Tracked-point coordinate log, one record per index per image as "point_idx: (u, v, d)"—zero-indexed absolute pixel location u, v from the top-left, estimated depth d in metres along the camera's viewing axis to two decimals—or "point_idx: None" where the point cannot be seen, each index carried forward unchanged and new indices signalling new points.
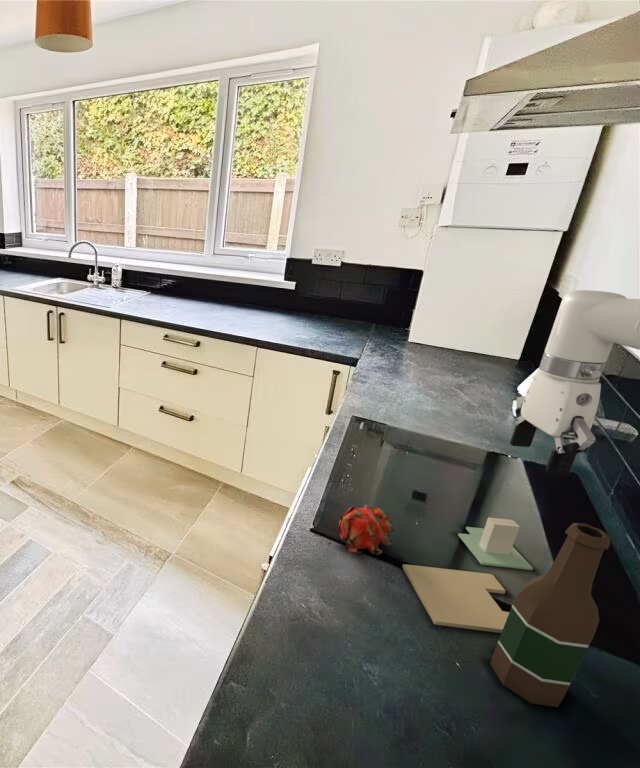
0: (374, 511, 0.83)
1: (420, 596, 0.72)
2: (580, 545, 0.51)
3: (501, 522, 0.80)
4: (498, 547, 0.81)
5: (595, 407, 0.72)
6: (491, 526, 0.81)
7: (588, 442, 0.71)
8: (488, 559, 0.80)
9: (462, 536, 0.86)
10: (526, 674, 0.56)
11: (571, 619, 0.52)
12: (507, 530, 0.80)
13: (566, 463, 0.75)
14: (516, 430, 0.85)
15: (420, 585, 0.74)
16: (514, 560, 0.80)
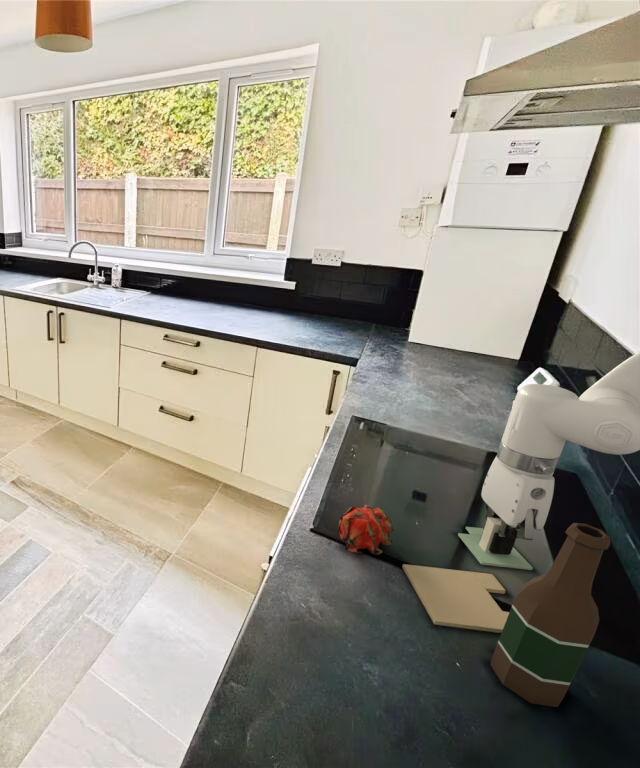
0: (374, 511, 0.83)
1: (420, 596, 0.72)
2: (580, 545, 0.51)
3: (501, 521, 0.80)
4: None
5: (549, 501, 0.73)
6: (491, 526, 0.81)
7: None
8: (488, 559, 0.80)
9: (462, 536, 0.86)
10: (526, 674, 0.56)
11: (571, 619, 0.52)
12: None
13: (507, 545, 0.79)
14: None
15: (420, 585, 0.74)
16: (514, 560, 0.80)
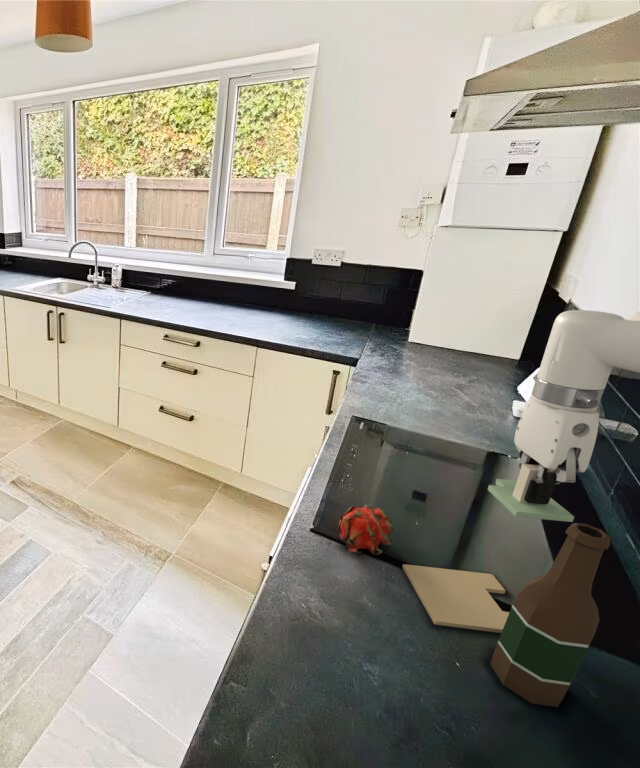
0: (374, 511, 0.83)
1: (420, 596, 0.72)
2: (580, 545, 0.51)
3: (537, 467, 0.73)
4: None
5: (593, 438, 0.66)
6: (526, 473, 0.74)
7: None
8: (523, 508, 0.73)
9: (493, 487, 0.79)
10: (526, 674, 0.56)
11: (571, 619, 0.52)
12: None
13: (545, 493, 0.72)
14: None
15: (420, 585, 0.74)
16: (553, 509, 0.73)
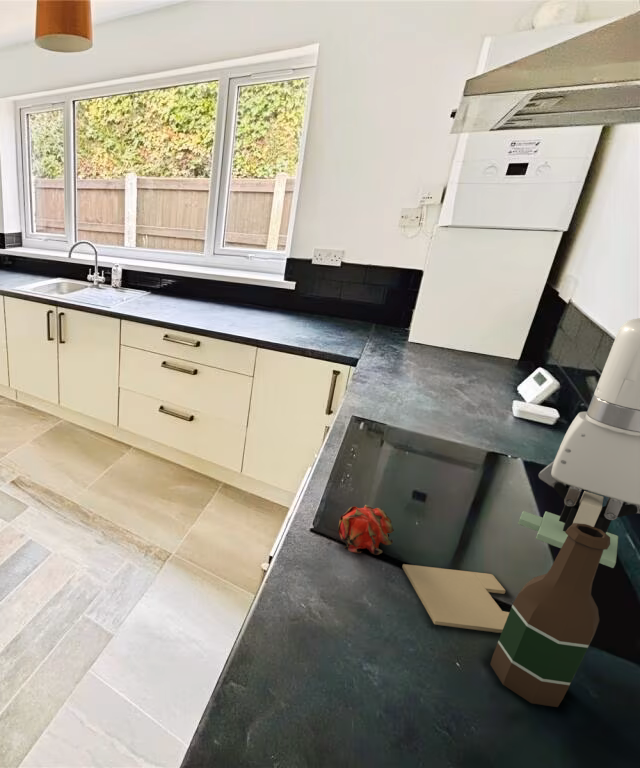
0: (374, 511, 0.83)
1: (420, 596, 0.72)
2: (580, 545, 0.51)
3: (593, 500, 0.63)
4: None
5: None
6: (594, 511, 0.62)
7: None
8: (605, 553, 0.62)
9: (546, 536, 0.65)
10: (526, 674, 0.56)
11: (571, 619, 0.52)
12: None
13: None
14: (574, 514, 0.64)
15: (420, 585, 0.74)
16: None
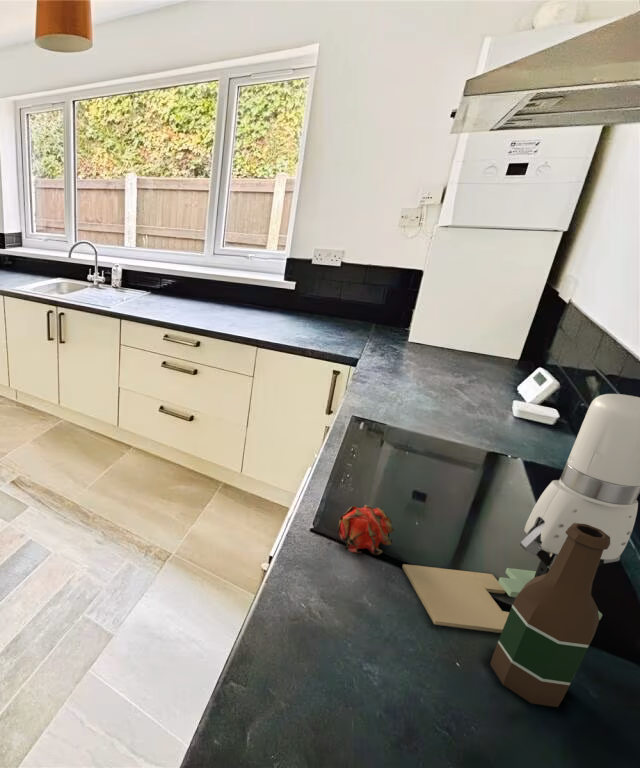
0: (374, 511, 0.83)
1: (420, 596, 0.72)
2: (580, 545, 0.51)
3: None
4: None
5: None
6: None
7: None
8: None
9: None
10: (526, 674, 0.56)
11: (571, 619, 0.52)
12: None
13: None
14: None
15: (420, 585, 0.74)
16: None
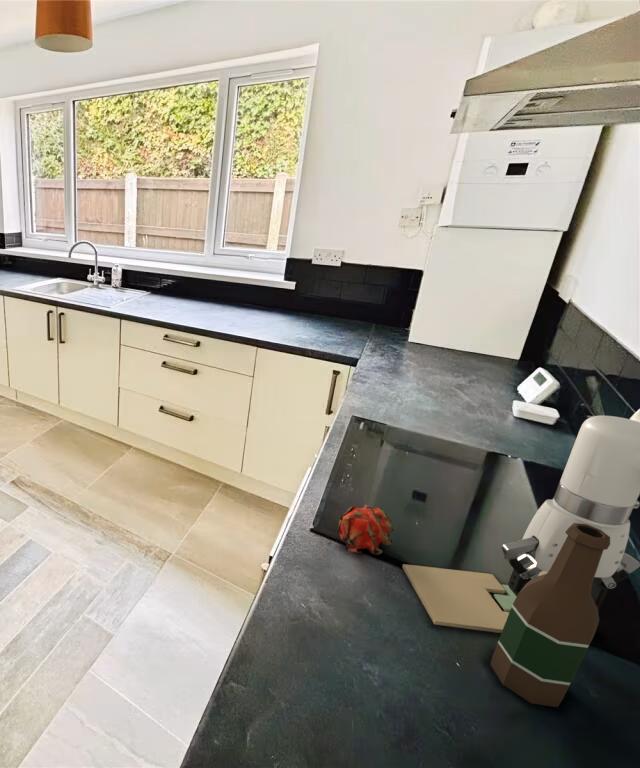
0: (374, 511, 0.83)
1: (420, 596, 0.72)
2: (580, 545, 0.51)
3: None
4: None
5: None
6: None
7: None
8: None
9: None
10: (526, 674, 0.56)
11: (571, 619, 0.52)
12: None
13: None
14: None
15: (420, 585, 0.74)
16: None
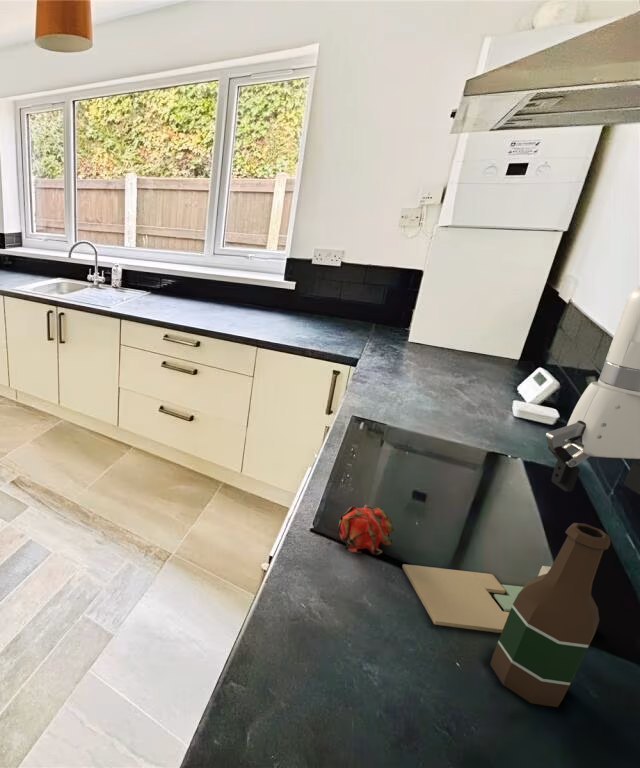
0: (374, 511, 0.83)
1: (420, 596, 0.72)
2: (580, 545, 0.51)
3: None
4: None
5: None
6: None
7: None
8: None
9: None
10: (526, 674, 0.56)
11: (571, 619, 0.52)
12: None
13: None
14: (577, 473, 0.65)
15: (420, 585, 0.74)
16: None
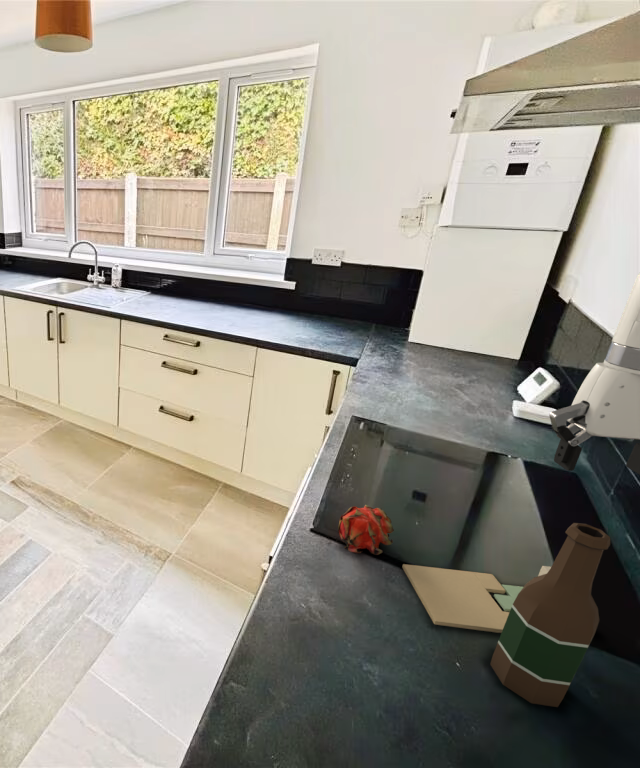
0: (374, 511, 0.83)
1: (420, 596, 0.72)
2: (580, 545, 0.51)
3: None
4: None
5: None
6: None
7: None
8: None
9: None
10: (526, 674, 0.56)
11: (571, 619, 0.52)
12: None
13: None
14: (579, 452, 0.66)
15: (420, 585, 0.74)
16: None
